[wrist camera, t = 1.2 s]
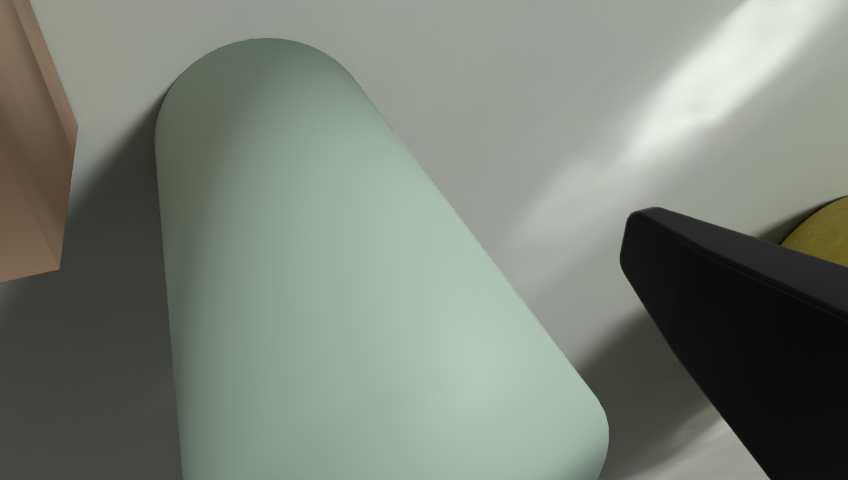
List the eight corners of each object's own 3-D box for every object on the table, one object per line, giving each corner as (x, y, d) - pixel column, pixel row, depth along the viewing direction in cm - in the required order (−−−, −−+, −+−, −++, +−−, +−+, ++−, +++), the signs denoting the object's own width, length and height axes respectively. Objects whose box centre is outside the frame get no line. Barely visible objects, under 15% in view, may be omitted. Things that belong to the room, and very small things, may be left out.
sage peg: (379, 210, 14) (581, 555, 8) (185, 254, 13) (243, 698, 7) (364, 23, 11) (642, 310, 5) (123, 57, 10) (124, 471, 4)
